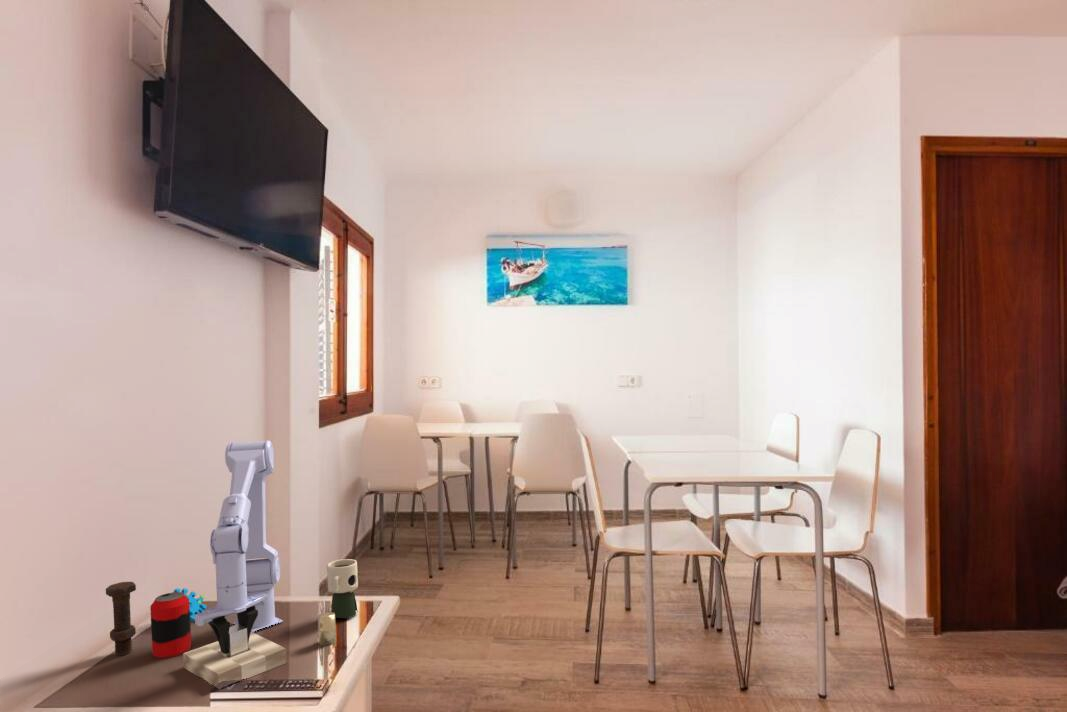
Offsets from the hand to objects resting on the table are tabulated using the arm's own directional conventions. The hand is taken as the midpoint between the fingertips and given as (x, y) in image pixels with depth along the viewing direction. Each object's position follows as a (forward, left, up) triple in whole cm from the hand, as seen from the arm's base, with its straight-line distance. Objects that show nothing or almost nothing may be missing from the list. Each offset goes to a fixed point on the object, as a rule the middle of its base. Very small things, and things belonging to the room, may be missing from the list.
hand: (234, 648), depth 141 cm
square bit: (0, 0, -2) cm, 2 cm away
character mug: (-4, +29, -4) cm, 29 cm away
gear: (-36, +6, -4) cm, 36 cm away
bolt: (-27, -12, -4) cm, 30 cm away
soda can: (-19, -5, -4) cm, 20 cm away
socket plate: (0, 0, -3) cm, 3 cm away
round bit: (+6, +18, -3) cm, 19 cm away
